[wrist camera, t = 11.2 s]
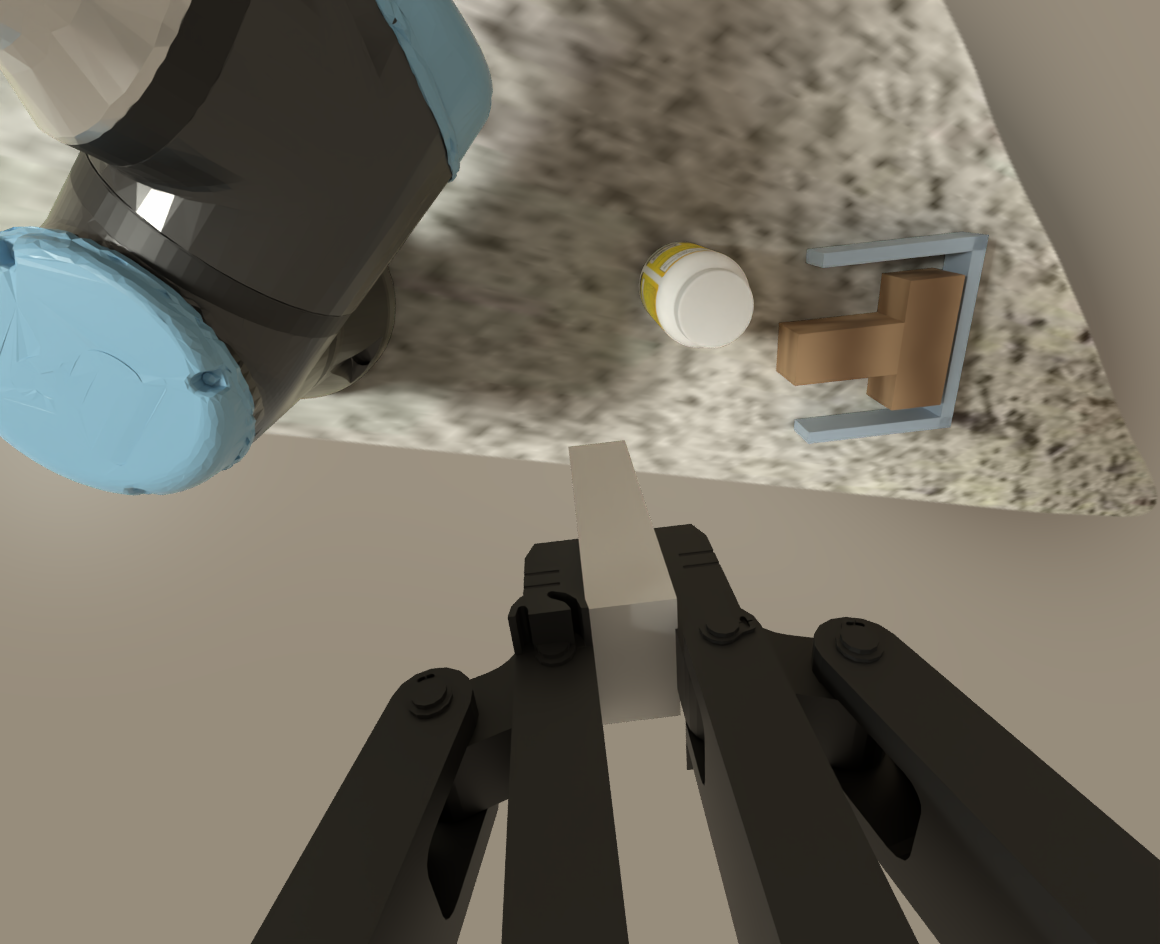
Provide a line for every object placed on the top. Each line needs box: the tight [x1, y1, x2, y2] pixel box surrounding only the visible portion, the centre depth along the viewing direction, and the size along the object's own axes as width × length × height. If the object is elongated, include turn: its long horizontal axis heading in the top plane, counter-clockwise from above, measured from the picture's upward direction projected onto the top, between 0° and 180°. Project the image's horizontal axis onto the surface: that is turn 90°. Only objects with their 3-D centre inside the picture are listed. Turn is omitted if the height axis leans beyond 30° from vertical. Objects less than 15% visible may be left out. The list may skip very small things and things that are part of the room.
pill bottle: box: [639, 242, 754, 348], centre depth 40 cm, size 6×6×11 cm
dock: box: [794, 232, 989, 444], centre depth 47 cm, size 12×15×3 cm
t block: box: [776, 268, 965, 410], centre depth 46 cm, size 12×10×4 cm
